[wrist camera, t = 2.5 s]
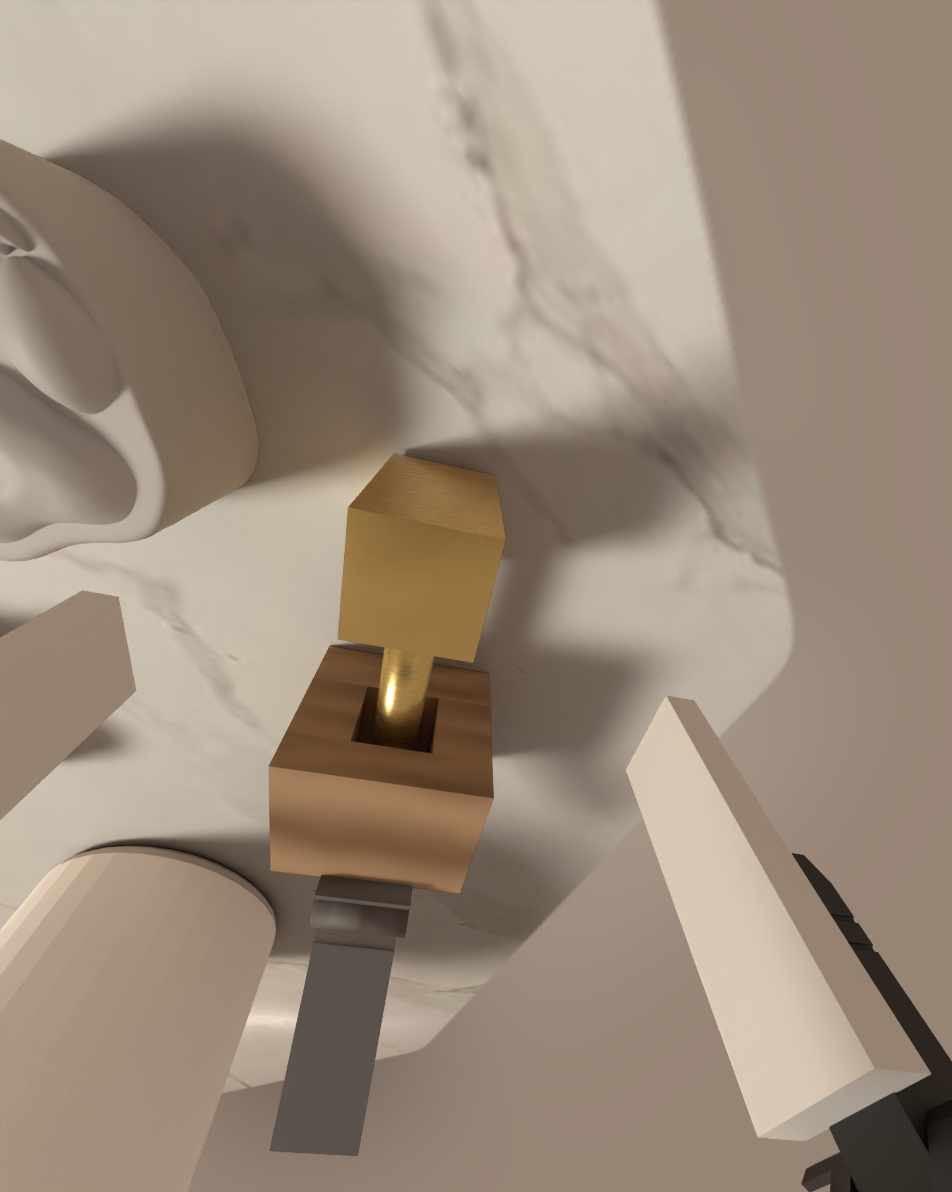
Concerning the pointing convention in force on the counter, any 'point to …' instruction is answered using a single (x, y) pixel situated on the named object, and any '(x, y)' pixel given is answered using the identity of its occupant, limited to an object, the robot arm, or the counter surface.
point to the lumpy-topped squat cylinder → (105, 372)
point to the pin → (418, 579)
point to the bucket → (123, 1017)
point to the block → (380, 794)
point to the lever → (334, 1044)
